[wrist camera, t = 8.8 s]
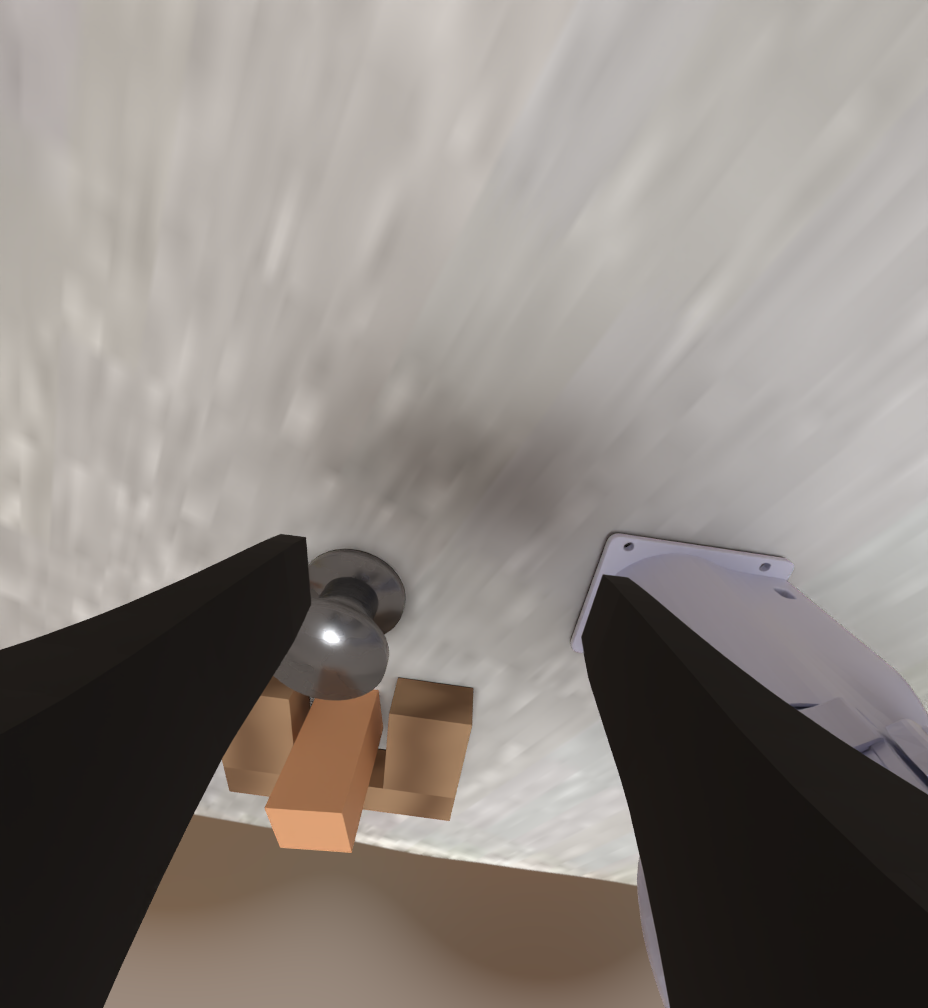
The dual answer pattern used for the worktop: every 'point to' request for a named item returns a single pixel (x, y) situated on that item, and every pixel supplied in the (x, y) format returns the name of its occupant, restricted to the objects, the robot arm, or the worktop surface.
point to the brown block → (327, 775)
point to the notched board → (397, 770)
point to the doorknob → (344, 627)
